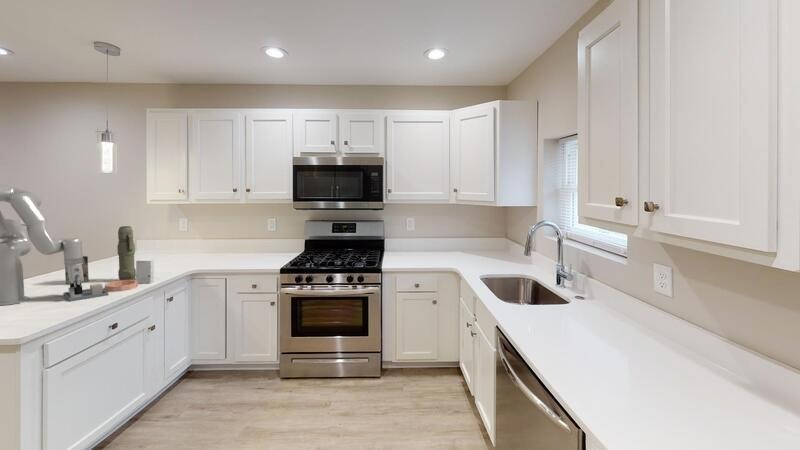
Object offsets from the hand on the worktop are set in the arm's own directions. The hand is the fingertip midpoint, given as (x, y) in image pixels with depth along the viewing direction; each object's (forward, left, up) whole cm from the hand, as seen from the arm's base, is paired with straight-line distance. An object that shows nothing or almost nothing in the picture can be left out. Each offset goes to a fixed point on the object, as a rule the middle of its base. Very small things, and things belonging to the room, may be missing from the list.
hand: (76, 292), depth 194 cm
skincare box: (+35, +11, -3) cm, 37 cm away
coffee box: (+7, +38, -3) cm, 39 cm away
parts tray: (+4, 0, -3) cm, 5 cm away
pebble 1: (-1, 0, -2) cm, 3 cm away
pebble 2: (+8, 0, -2) cm, 9 cm away
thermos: (+29, +24, -3) cm, 38 cm away
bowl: (+21, +4, -3) cm, 22 cm away
